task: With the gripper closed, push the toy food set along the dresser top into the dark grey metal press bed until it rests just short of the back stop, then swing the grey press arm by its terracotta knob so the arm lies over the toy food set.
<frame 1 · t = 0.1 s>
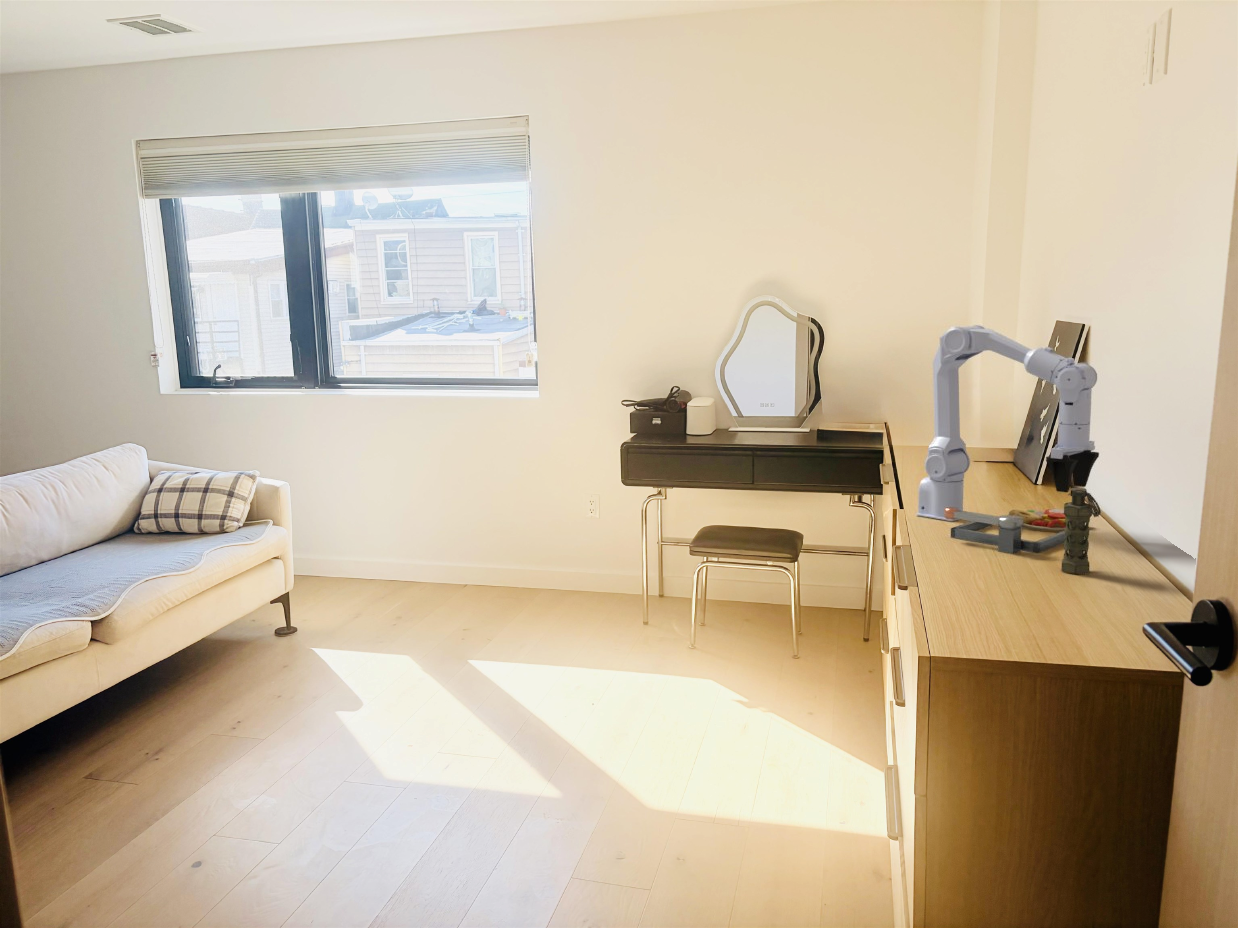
hand: (1071, 488, 177), 10 cm above the table, tool pointing down, fingers open, 7 cm apart
grenade: (1079, 571, 156), on the table
toy food set: (1046, 527, 189), on the table
press bed: (1011, 537, 180), on the table
press arm: (982, 518, 173), point 6 cm above the table, hinge at 0.0°
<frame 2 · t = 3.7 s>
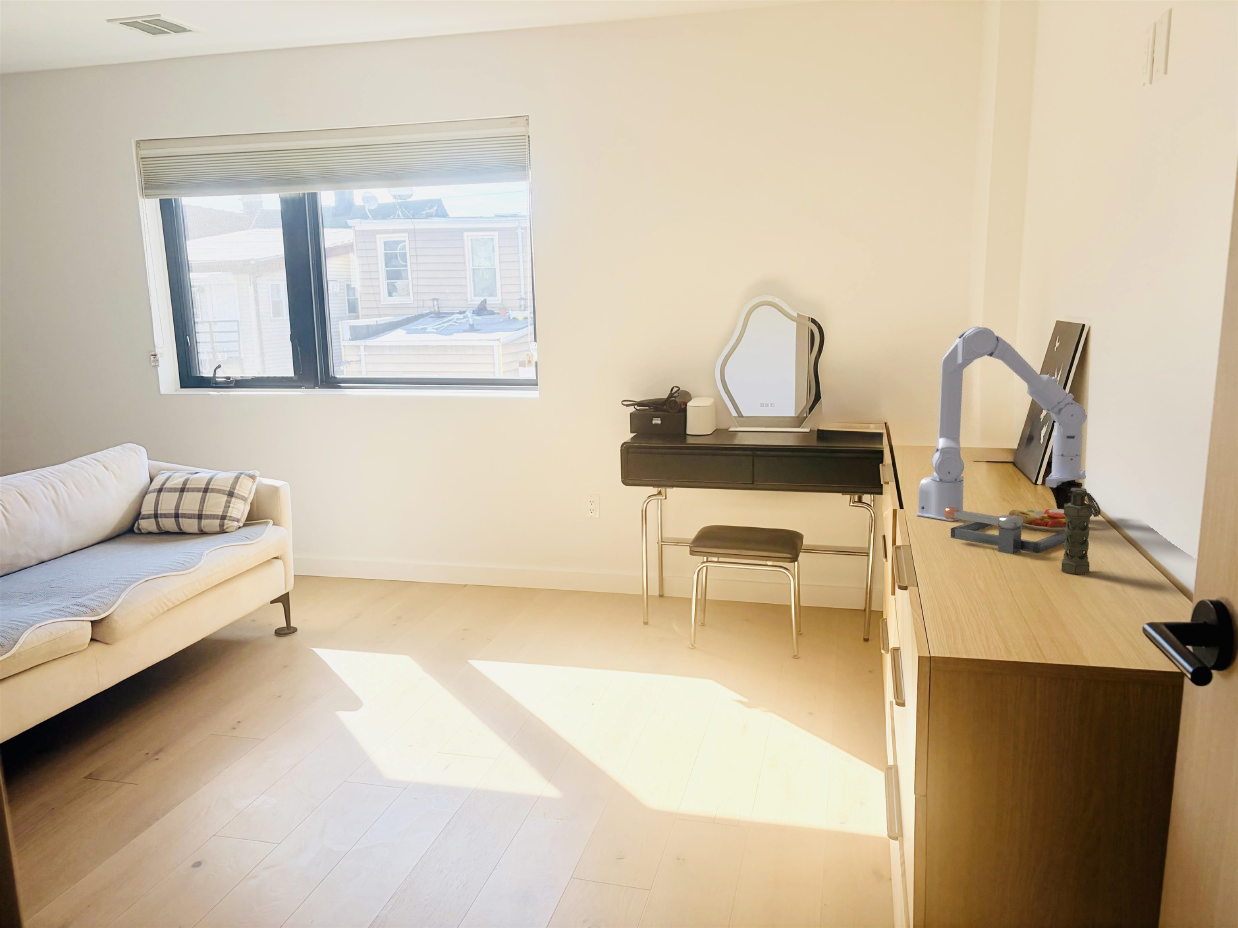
hand: (1064, 514, 193), 1 cm above the table, tool pointing down, fingers closed
toy food set: (1046, 527, 189), on the table, touching gripper
everything else where it was.
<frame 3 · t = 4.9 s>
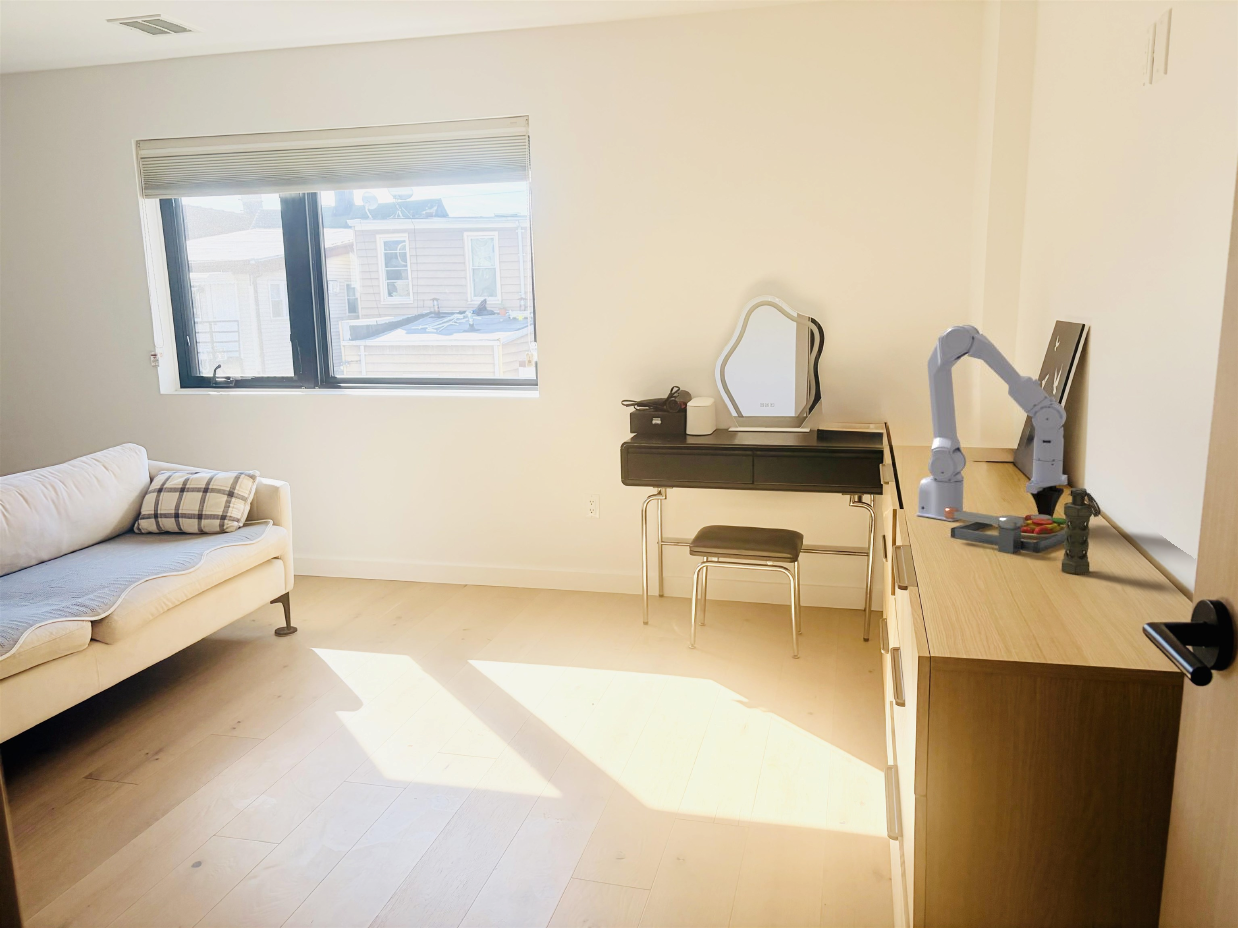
hand: (1045, 520, 188), 1 cm above the table, tool pointing down, fingers closed
toy food set: (1030, 533, 183), on the table, touching gripper
everything else where it was.
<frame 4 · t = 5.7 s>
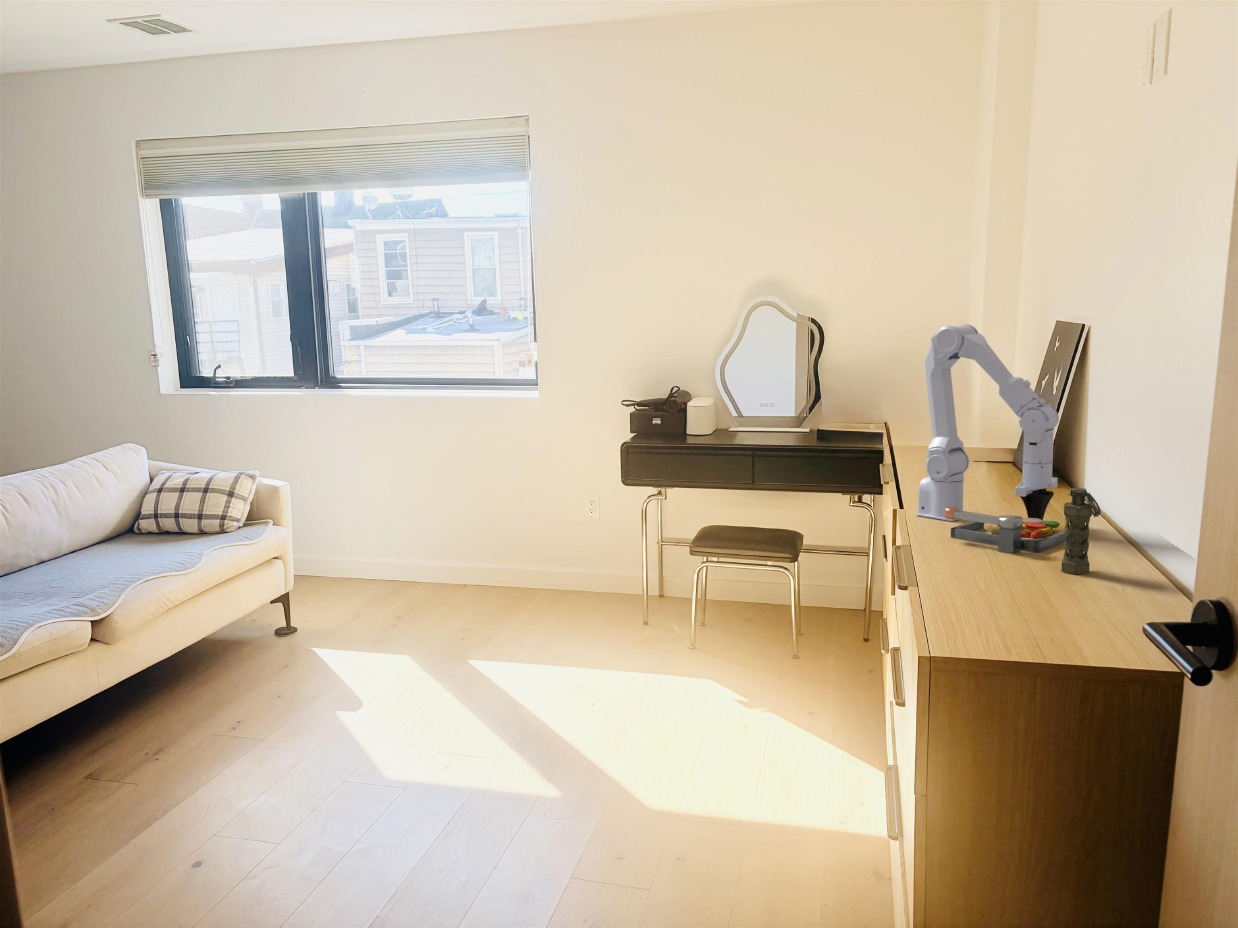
hand: (1035, 524, 185), 1 cm above the table, tool pointing down, fingers closed
toy food set: (1022, 537, 180), on the table, touching gripper
everything else where it was.
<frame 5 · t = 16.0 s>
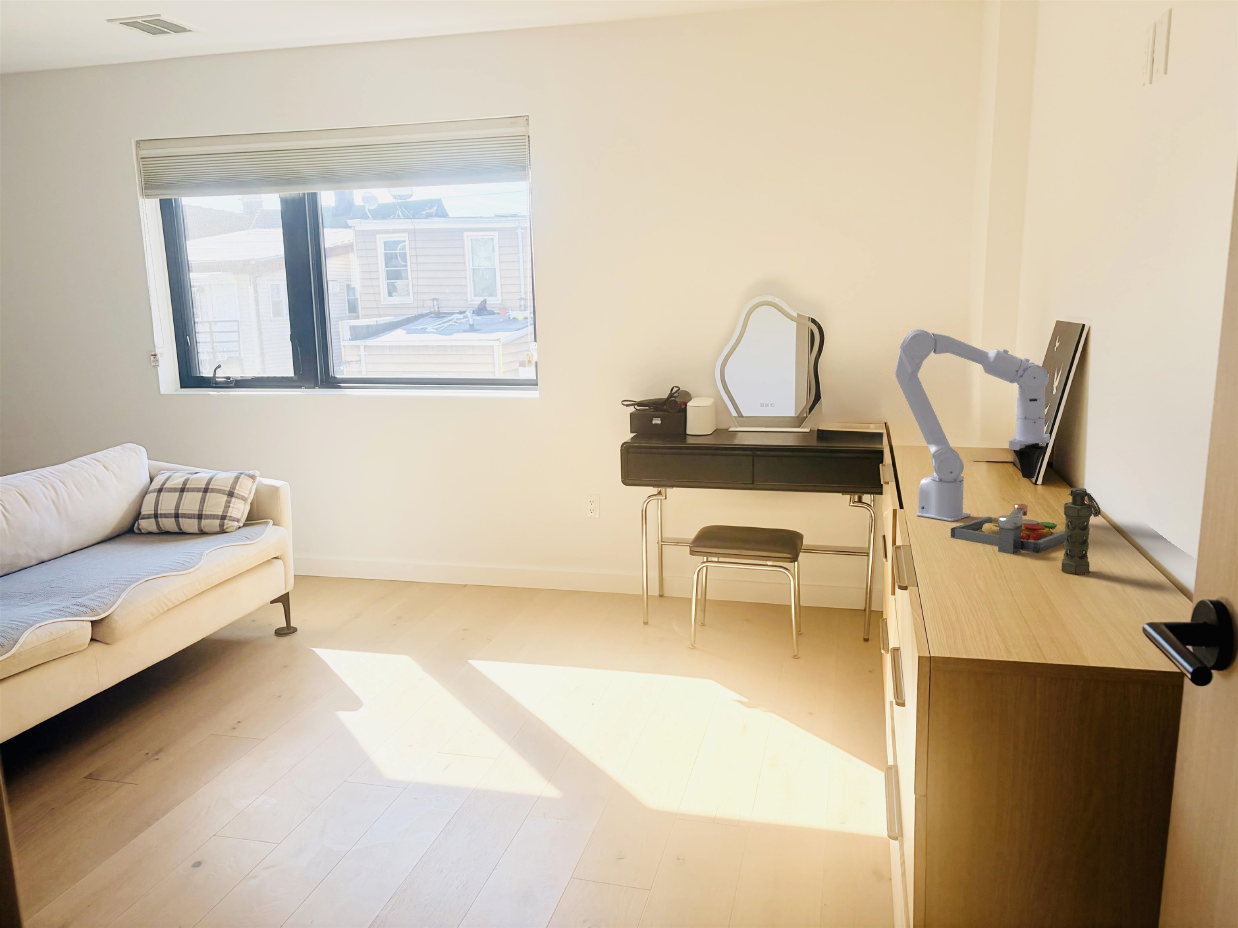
hand: (1028, 477, 194), 9 cm above the table, tool pointing down, fingers closed
toy food set: (1020, 539, 180), on the table
press arm: (1015, 516, 173), point 6 cm above the table, hinge at 71.0°
everything else where it was.
at the end: toy food set inside the target area (1.4 cm from its centre), on the table; press arm at +71° (first picture: +0°) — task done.
